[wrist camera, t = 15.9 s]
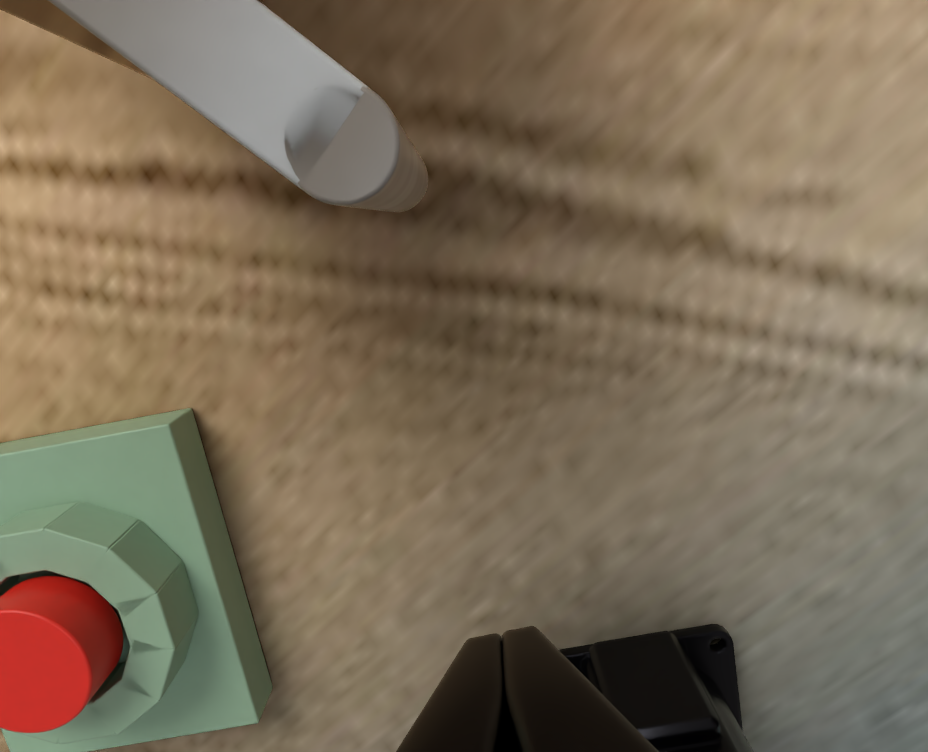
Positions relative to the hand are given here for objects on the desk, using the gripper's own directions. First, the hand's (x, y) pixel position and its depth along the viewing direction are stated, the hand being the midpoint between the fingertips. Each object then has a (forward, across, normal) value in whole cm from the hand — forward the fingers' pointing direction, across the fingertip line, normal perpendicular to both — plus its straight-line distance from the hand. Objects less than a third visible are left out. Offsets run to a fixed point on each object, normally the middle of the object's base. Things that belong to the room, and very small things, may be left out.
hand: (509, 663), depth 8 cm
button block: (+13, +13, +3) cm, 18 cm away
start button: (+10, +13, +3) cm, 16 cm away
